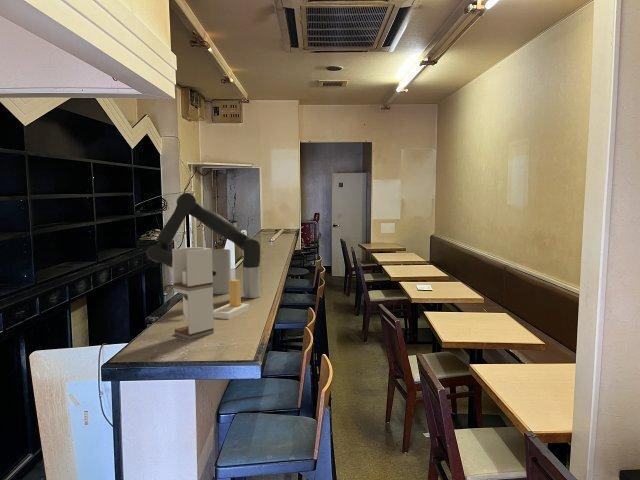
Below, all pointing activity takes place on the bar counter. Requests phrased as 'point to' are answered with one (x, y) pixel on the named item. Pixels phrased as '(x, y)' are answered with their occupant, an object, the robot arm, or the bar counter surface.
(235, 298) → the plug
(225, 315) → the white socket board
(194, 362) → the bar counter surface
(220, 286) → the cylinder vase
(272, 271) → the bar counter surface
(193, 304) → the white tower
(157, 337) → the bar counter surface
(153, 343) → the bar counter surface
